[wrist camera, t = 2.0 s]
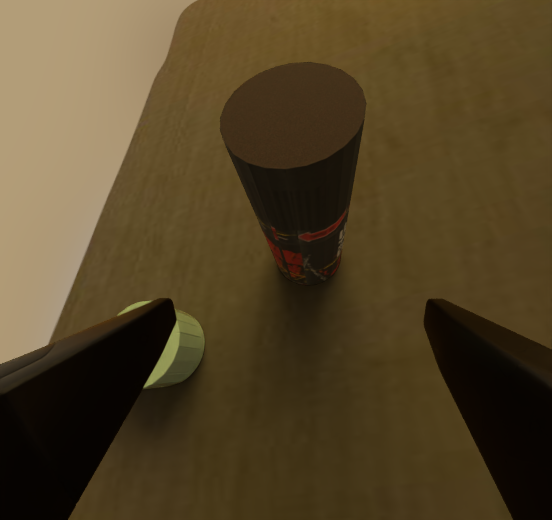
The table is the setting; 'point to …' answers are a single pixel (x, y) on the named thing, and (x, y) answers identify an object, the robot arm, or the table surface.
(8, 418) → the robot arm
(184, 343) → the stoneware cup
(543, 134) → the table surface
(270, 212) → the deodorant
